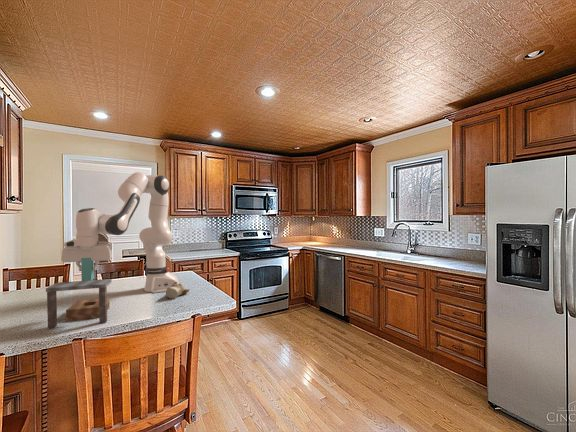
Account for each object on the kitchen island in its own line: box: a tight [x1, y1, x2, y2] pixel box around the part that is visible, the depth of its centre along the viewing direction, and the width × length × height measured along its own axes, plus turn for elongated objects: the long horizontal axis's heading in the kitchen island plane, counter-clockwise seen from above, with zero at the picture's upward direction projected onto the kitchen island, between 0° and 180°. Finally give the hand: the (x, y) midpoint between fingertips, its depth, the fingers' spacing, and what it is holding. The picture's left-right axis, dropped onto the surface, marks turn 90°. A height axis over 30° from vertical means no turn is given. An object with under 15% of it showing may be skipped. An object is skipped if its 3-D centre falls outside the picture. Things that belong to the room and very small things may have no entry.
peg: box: [80, 258, 95, 281], centre depth 141 cm, size 4×4×11 cm
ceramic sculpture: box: [165, 282, 191, 300], centre depth 170 cm, size 11×9×15 cm
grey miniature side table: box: [45, 278, 112, 329], centre depth 137 cm, size 22×22×18 cm
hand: (87, 270), depth 141 cm, fingers closed on peg, 4 cm apart
